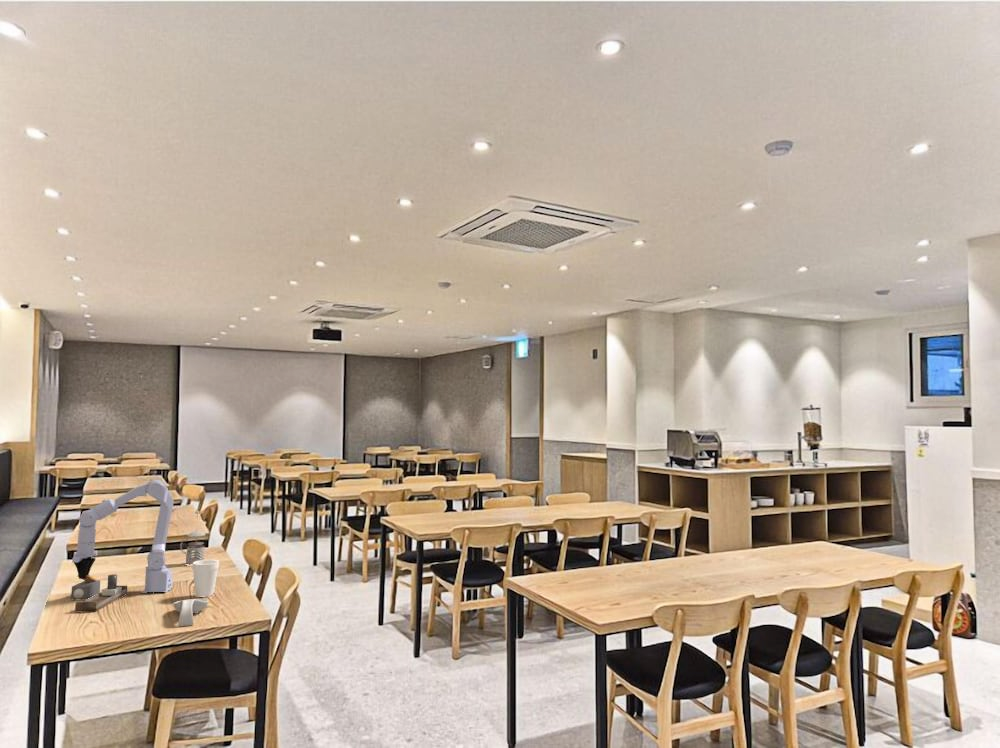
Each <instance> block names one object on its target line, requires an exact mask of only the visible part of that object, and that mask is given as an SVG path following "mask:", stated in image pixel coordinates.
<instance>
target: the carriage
mask: <svg viewBox="0 0 1000 748" xmlns="http://www.w3.org/2000/svg"><path fill="white" fill-rule="evenodd" d="M117 582H118V574H116V573H115V574H109V575H107V587H105V588H104V589H101V592H102V596H113V595H115V594H117V593H119V592H121V591H122V587H116V586H118V585H117V584H118V583H117Z"/></svg>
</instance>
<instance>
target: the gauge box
mask: <svg viewBox="0 0 1000 748" xmlns="http://www.w3.org/2000/svg"><path fill="white" fill-rule="evenodd" d="M100 589H101V580H100V579H99V580H98V579H97V581H85V580H83V581H81V582H79V583H77V584H75V585H72V586H71V593H70V594H71V595H70V600H71V599H87V600H88V598H89V599H90V597H91V598H92V596H94V595H96V594H98V593H101V591H100Z"/></svg>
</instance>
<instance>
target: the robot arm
mask: <svg viewBox="0 0 1000 748" xmlns="http://www.w3.org/2000/svg"><path fill="white" fill-rule="evenodd" d="M147 495H149V496H150V497H152V498H153V499H156V501H157V502H158V503H159V505H160V507H159V512H158V516H157V522H156V525H155V526H156V527H155V531H154V532H155V533H154V537H153V542H152V546H151V550H150V551H149V553H148V555H147V557H146V559H147V566H146V567H145V575H144V577H145V579H144V581H145V582H144V590H141V591H140V594H148V593H147V592H153V593H152V594H155V593H154V592H166V591H167V592H169V591H170V590H172V589H173V588H172V587H173V574H174V572H173V569H172V568H168V567H167V566H166V565H165V563H166V557H165V553H166V552H165V551H166V545H167V544H166V543H167V538H168V533H169V528H170V522H171V518H172V512H173V507H174V503H175V502H174V498H173V496H172V495H171V492H170V490H169V489H168V486H167V485H166V484H165V483H164V482H163V481H161V480H160V479H158V478H157V479H156V478H155V479H151V480H150V481H148V482H145V483H142V484H140V485H137V486H136V487H134V488H132V489H130V490H129V491H126V492H125V493H124V494H121V495H120V496H118V497H117V498H115V499H111V498H108V499H102V501H101V503H98V504H96V505H95V506H91V507H89V509H88V510H85V511H83V512H82V513H80V515H79V517H78V522H79V527H78V528H79V530H78V535H77V547H76V553H75V552H74V553H73V557H72V563H73V564H74V566H75V567H76V568H75V569H76V571H77V577H78V576H79V577H78V579H79V580H83V579H85V578H87V577H86V575H90V572H91V569H92V567H93V564H94V563H95V562H96V558H95V557H96V556H98V550H95V546H96V534H97V533H96V532H97V530H96V523H97V521H101V520H103V519H105V518H107V517H109V516H110V515H113V514H114V513H116V512H118V509H119V507H120V506H122V505H124V504H126V503H128V502H130V501H132V500H135V499H136V498H137V497H147ZM171 588H172V589H171ZM168 590H169V591H168ZM167 592H166V593H167Z"/></svg>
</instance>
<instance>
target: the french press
mask: <svg viewBox="0 0 1000 748" xmlns="http://www.w3.org/2000/svg"><path fill="white" fill-rule="evenodd" d="M194 514H195V515H196V518H198V514H200V510H196V511H195V513H194ZM200 537H202V538H203V537H206V533H205V532H203V531H198V528H196V529H195V531H192V532H190V533H188V534H187V537H186V538H184V539H182V540H181V543H180V551H181V552H182V553H183V554H185V563H184V564H189V565H190V564H193V562H195V561H200V560H205V550H206V547H205V542H201V541H197V538H200ZM189 538H195V541H194V542H193V541H192V542H188V541H189ZM185 540H186V542H188V543H187V545H188V546H187V547H186V552H185V551H184V549H183V542H184V541H185Z"/></svg>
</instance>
